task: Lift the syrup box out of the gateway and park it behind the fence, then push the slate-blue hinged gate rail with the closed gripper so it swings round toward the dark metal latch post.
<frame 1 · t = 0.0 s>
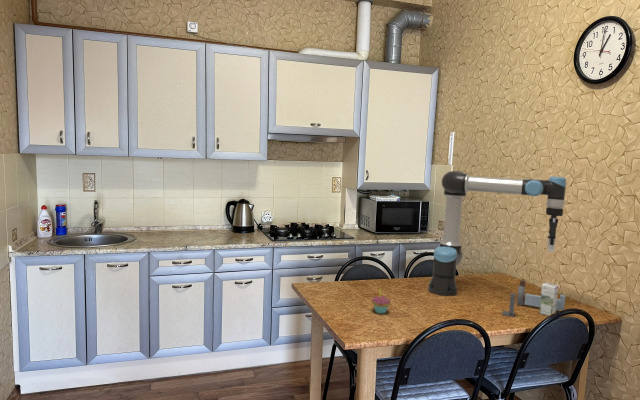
hand: (550, 249, 217), 28 cm above the table, fingers open, 13 cm apart
gate: (540, 299, 210), point 5 cm above the table, hinge at 0.0°
syrup box: (547, 314, 203), on the table
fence: (520, 300, 222), on the table
cupcake: (380, 312, 195), on the table
latch post: (511, 314, 199), on the table
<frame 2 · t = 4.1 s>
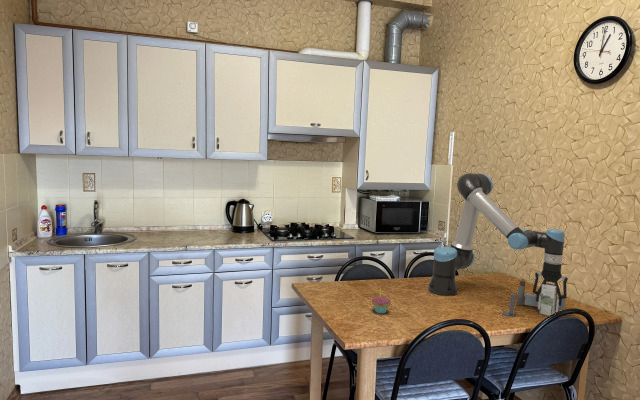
hand: (547, 310, 202), 2 cm above the table, fingers closed on syrup box, 7 cm apart
syrup box: (547, 314, 202), on the table, touching gripper
everything else where it was.
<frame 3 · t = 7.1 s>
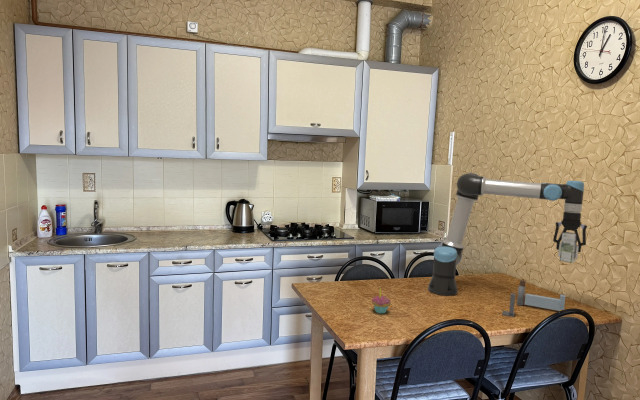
hand: (567, 257, 214), 25 cm above the table, fingers closed on syrup box, 7 cm apart
syrup box: (567, 261, 215), point 23 cm above the table, touching gripper
everything else where it was.
when the fingers open (4 cm above the table, at t = 10.6 s): syrup box drops 2 cm, on the table.
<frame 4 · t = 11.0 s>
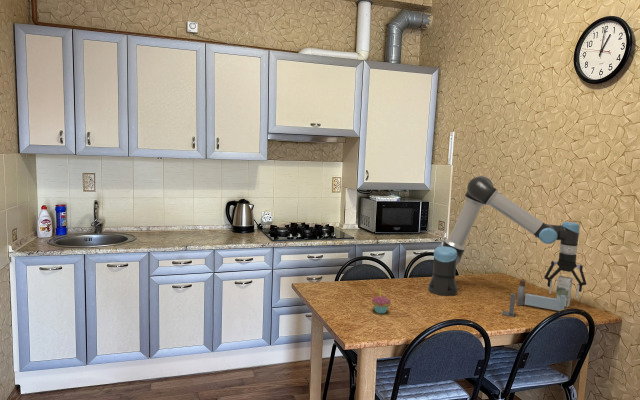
hand: (563, 295, 217), 5 cm above the table, fingers open, 11 cm apart
syrup box: (562, 305, 217), on the table
everything else where it was.
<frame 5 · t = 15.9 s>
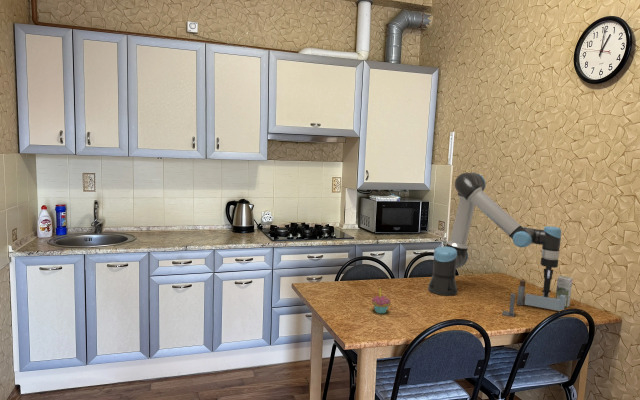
hand: (544, 304, 212), 1 cm above the table, fingers closed
gate: (540, 299, 210), point 5 cm above the table, hinge at 0.1°, touching gripper
everything else where it was.
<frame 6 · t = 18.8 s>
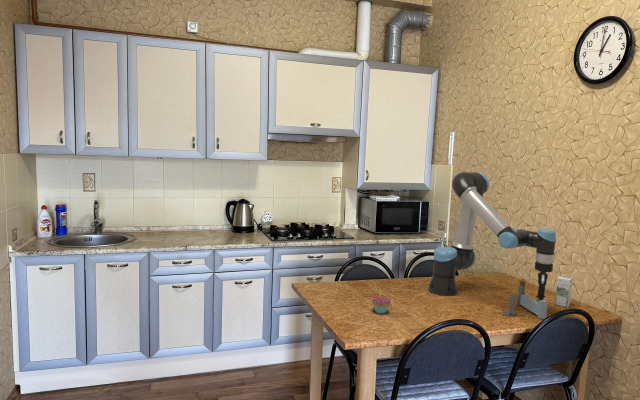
hand: (539, 310, 203), 1 cm above the table, fingers closed
gate: (530, 301, 205), point 5 cm above the table, hinge at 57.8°, touching gripper
everything else where it was.
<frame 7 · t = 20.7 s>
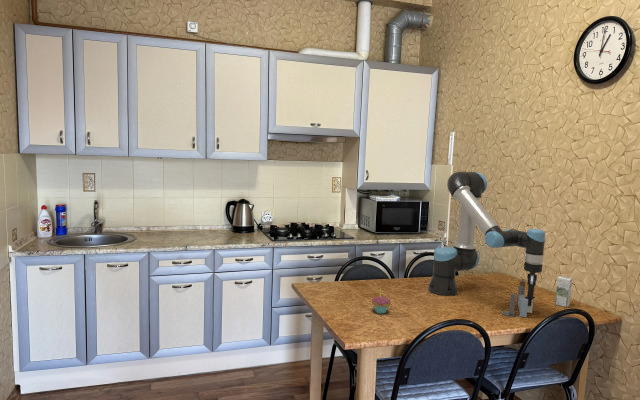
hand: (528, 311, 200), 1 cm above the table, fingers closed
gate: (522, 300, 206), point 5 cm above the table, hinge at 84.0°, touching gripper
everything else where it was.
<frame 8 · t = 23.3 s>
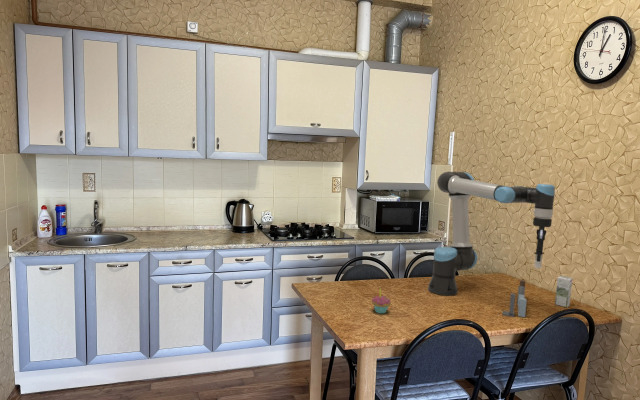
hand: (537, 267, 199), 22 cm above the table, fingers closed
gate: (521, 300, 206), point 5 cm above the table, hinge at 85.7°
everything else where it was.
at the end: gate at +86° (first picture: +0°); syrup box inside the target area (0.0 cm from its centre), on the table; syrup box tilted 0° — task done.
